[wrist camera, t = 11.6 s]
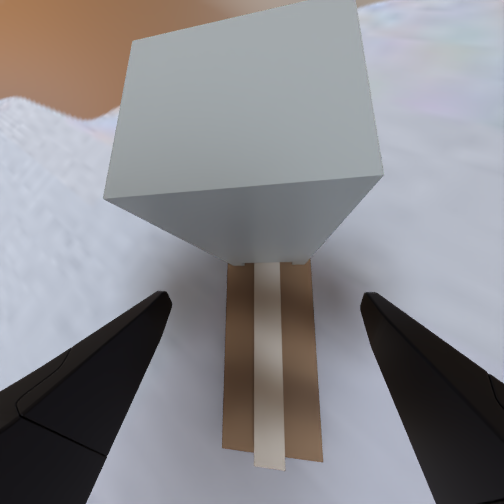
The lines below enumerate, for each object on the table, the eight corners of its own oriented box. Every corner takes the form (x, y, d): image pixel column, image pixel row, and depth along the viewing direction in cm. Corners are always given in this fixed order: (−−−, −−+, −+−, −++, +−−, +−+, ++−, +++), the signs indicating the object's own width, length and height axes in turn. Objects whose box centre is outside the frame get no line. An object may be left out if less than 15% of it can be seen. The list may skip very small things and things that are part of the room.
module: (304, 264, 15) (383, 174, 3) (233, 265, 16) (102, 198, 4) (301, 207, 16) (353, -11, 4) (234, 212, 17) (132, 40, 5)
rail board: (320, 449, 13) (342, 542, 8) (226, 437, 14) (197, 513, 9) (304, 195, 17) (313, 158, 12) (232, 200, 18) (215, 168, 13)
